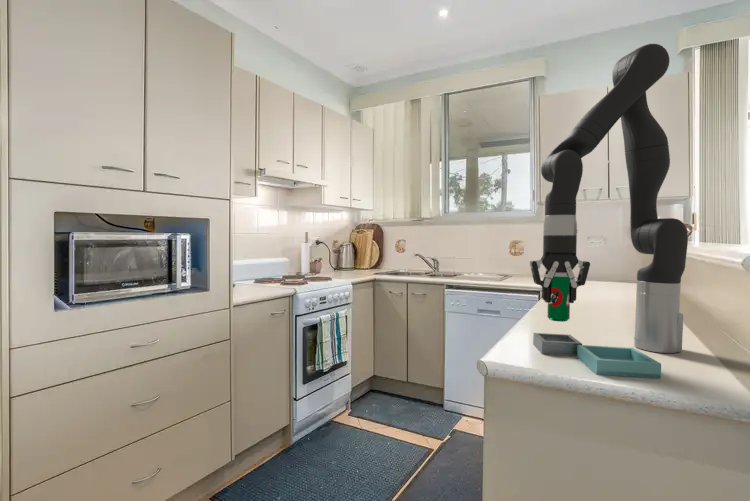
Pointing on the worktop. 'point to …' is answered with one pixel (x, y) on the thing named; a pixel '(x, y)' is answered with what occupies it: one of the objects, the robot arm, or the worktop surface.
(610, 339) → the worktop surface
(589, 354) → the tray
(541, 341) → the grey square bin
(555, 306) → the soda can
